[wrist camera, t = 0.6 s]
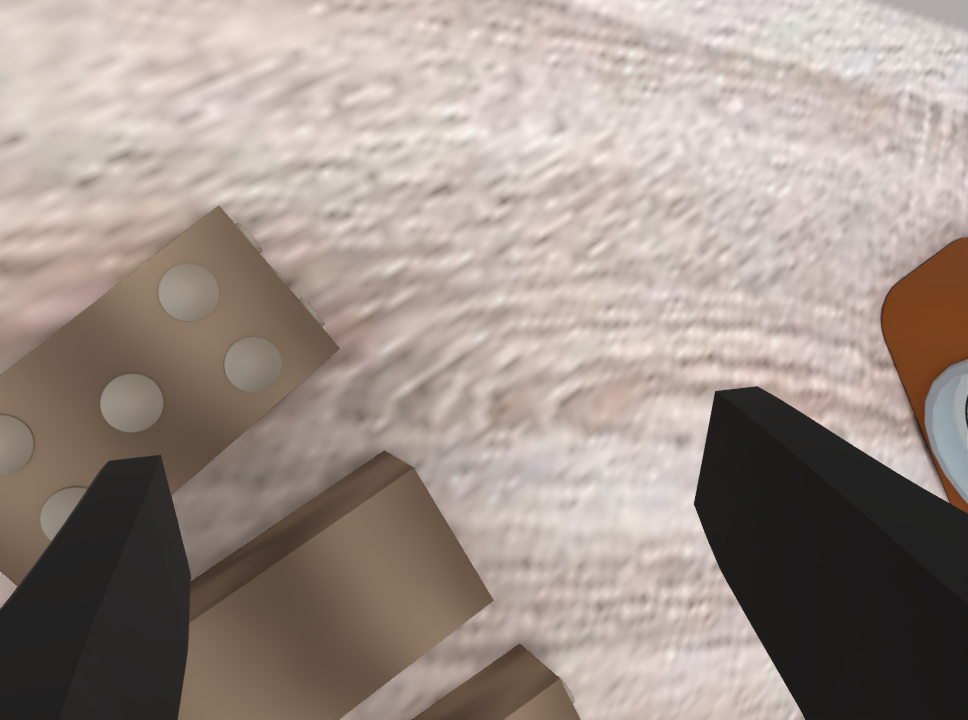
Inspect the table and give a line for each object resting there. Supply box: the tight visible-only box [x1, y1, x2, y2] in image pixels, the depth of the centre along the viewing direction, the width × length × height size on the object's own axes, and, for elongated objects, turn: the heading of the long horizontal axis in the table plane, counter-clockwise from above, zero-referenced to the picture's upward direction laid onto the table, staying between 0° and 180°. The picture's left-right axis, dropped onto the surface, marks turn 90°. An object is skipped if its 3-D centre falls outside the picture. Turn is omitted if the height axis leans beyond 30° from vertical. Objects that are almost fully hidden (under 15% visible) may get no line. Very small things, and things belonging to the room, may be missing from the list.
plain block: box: [178, 451, 494, 720], centre depth 32 cm, size 12×6×4 cm, turn 120°
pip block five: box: [0, 206, 340, 586], centre depth 29 cm, size 12×6×4 cm, turn 129°
